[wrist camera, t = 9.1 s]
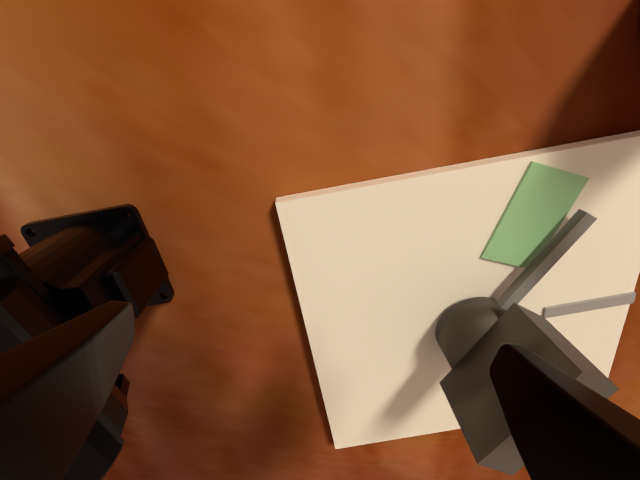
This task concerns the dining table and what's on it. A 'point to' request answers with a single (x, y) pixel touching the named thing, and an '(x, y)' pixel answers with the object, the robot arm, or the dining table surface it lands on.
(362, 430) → the dial plate
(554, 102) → the dining table surface
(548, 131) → the dining table surface
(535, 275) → the dark grey angled piece
